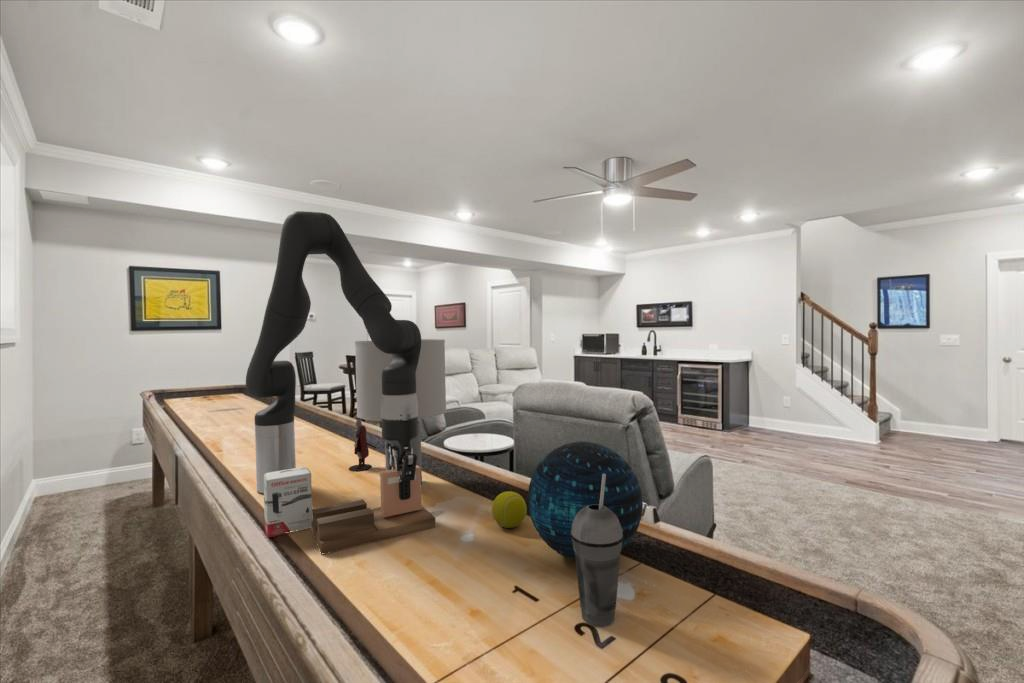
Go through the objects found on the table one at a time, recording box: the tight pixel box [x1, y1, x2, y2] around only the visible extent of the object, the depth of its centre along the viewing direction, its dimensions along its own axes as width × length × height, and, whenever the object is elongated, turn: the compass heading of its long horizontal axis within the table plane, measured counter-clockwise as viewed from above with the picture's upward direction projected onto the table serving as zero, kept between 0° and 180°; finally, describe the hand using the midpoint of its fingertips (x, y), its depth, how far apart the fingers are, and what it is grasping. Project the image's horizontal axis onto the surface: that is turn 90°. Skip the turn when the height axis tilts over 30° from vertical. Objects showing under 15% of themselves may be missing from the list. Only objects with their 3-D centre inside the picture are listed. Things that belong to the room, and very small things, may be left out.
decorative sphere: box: [527, 441, 644, 561], centre depth 83 cm, size 20×20×20 cm
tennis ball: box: [491, 491, 528, 529], centre depth 97 cm, size 7×7×7 cm
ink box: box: [263, 466, 313, 539], centre depth 97 cm, size 8×5×12 cm, turn 123°
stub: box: [379, 465, 422, 517], centre depth 99 cm, size 2×8×9 cm, turn 121°
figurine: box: [348, 417, 378, 472], centre depth 140 cm, size 7×7×15 cm
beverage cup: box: [570, 474, 624, 628], centre depth 65 cm, size 7×7×20 cm
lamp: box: [354, 338, 447, 486], centre depth 124 cm, size 23×23×38 cm
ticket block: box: [311, 499, 436, 555], centre depth 96 cm, size 12×22×5 cm, turn 121°
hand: (401, 495), depth 99 cm, fingers open, 3 cm apart
